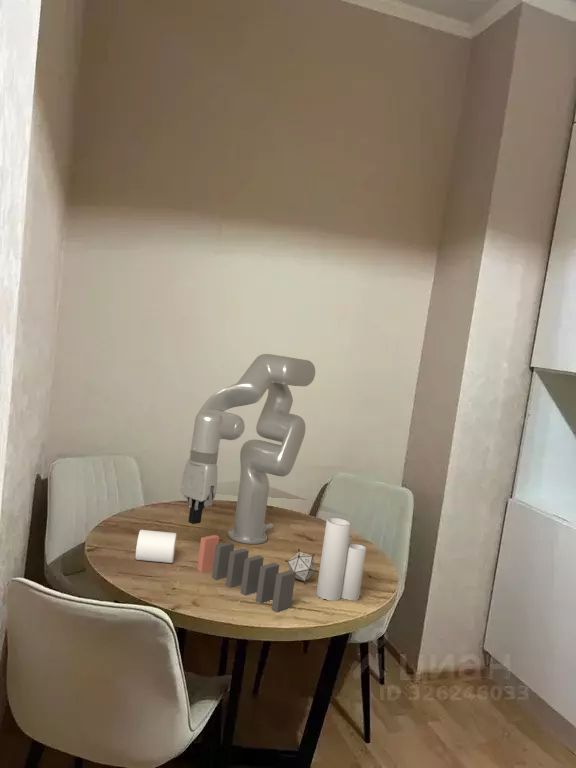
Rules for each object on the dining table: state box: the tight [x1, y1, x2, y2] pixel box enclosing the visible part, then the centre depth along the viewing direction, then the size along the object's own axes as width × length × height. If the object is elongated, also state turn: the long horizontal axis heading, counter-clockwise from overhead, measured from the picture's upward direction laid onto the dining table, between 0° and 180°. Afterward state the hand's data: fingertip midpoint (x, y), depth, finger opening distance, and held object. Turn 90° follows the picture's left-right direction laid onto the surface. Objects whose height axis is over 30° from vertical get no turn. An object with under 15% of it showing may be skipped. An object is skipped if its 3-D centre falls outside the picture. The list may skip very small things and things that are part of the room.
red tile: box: [196, 534, 220, 573], centre depth 175 cm, size 5×2×9 cm, turn 138°
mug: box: [135, 529, 177, 564], centre depth 179 cm, size 12×10×8 cm
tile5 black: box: [255, 562, 280, 605], centre depth 160 cm, size 5×2×9 cm, turn 138°
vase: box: [315, 517, 367, 601], centre depth 169 cm, size 11×7×20 cm, turn 107°
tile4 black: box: [239, 555, 264, 596], centre depth 164 cm, size 5×2×9 cm, turn 138°
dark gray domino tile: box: [225, 548, 250, 589], centre depth 167 cm, size 5×2×9 cm, turn 138°
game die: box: [284, 548, 319, 585], centre depth 176 cm, size 9×8×10 cm
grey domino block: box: [271, 570, 296, 613], centre depth 157 cm, size 5×2×9 cm, turn 138°
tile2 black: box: [211, 541, 235, 581], centre depth 171 cm, size 5×2×9 cm, turn 138°
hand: (194, 522), depth 178 cm, fingers closed
